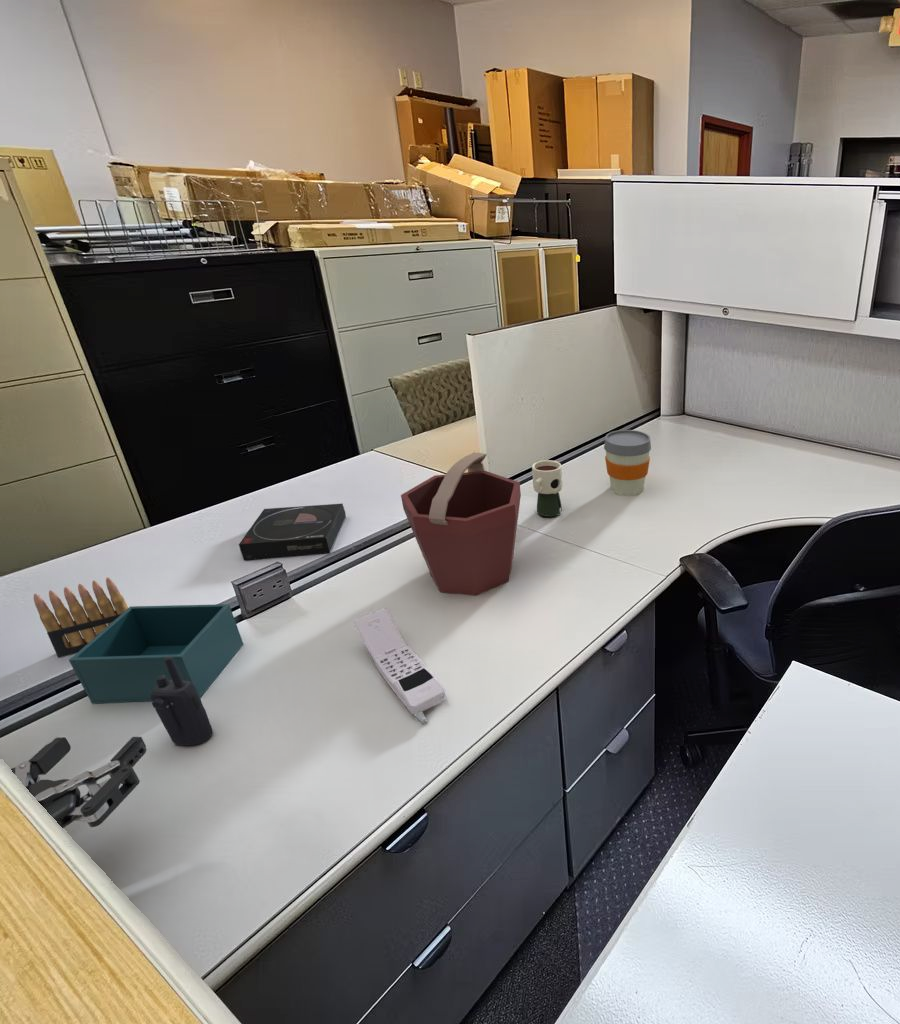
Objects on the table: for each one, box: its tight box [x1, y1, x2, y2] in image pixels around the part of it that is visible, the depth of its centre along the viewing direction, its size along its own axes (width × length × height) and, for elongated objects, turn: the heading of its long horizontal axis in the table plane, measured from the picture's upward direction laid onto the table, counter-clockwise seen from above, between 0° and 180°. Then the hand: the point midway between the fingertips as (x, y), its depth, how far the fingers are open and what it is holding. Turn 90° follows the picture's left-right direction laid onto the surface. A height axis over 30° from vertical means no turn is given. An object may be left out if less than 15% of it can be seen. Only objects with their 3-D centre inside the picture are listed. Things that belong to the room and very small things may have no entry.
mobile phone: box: [352, 607, 447, 724], centre depth 101 cm, size 6×6×25 cm
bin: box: [68, 603, 244, 705], centre depth 99 cm, size 15×13×9 cm
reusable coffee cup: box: [603, 429, 652, 497], centre depth 167 cm, size 13×13×15 cm
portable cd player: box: [238, 503, 347, 562], centre depth 139 cm, size 16×17×4 cm
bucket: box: [400, 451, 522, 596], centre depth 124 cm, size 24×22×25 cm
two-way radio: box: [151, 656, 214, 746], centre depth 85 cm, size 6×4×15 cm
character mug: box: [531, 459, 564, 517], centre depth 152 cm, size 11×7×13 cm, turn 163°
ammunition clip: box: [33, 577, 129, 658], centre depth 103 cm, size 11×2×12 cm, turn 126°
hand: (102, 741), depth 73 cm, fingers open, 8 cm apart
